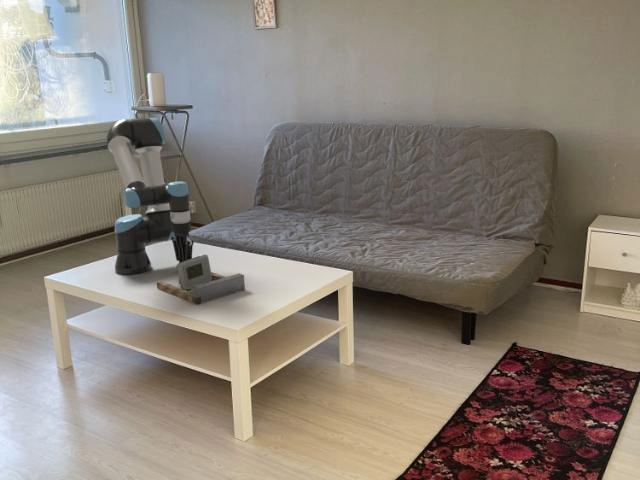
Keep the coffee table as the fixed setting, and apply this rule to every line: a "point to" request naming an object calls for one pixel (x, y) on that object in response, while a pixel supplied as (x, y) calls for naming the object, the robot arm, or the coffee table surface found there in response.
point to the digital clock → (194, 272)
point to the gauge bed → (183, 293)
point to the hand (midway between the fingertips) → (185, 278)
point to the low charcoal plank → (218, 288)
